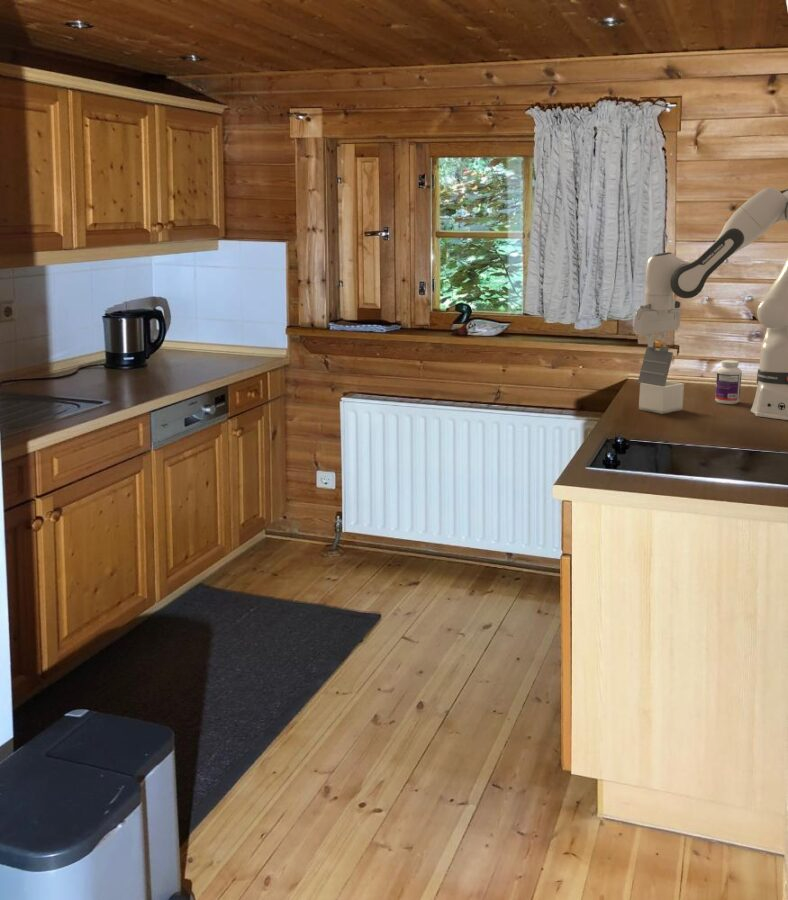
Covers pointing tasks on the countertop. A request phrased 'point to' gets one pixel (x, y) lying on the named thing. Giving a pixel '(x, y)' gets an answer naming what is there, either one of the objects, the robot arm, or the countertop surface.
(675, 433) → the countertop surface
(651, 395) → the tub
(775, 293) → the robot arm
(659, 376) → the lid
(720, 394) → the pill bottle
